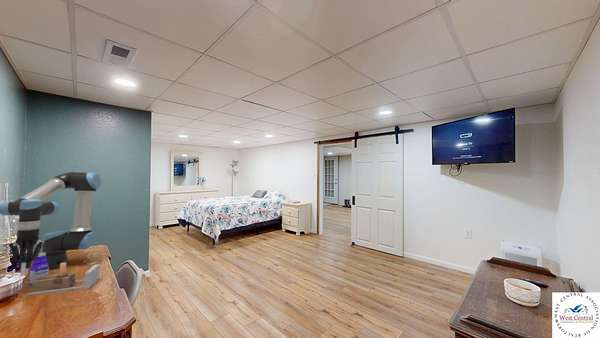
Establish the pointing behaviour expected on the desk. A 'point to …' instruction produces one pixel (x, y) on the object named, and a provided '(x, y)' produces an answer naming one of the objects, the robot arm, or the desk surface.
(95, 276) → the rail
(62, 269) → the dowel
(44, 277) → the block
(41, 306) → the desk surface
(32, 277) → the bottle
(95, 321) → the desk surface
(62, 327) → the desk surface
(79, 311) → the desk surface
